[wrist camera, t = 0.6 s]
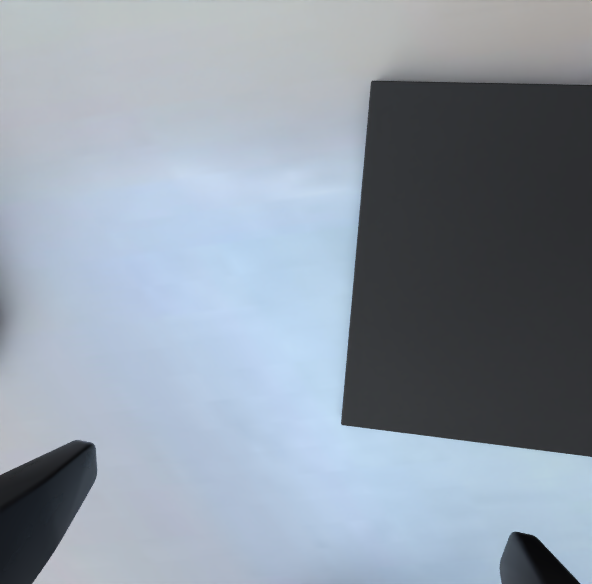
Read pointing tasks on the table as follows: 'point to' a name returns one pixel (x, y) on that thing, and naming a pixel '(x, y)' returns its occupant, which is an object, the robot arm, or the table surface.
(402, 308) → the charcoal mat
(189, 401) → the table surface
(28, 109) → the table surface
